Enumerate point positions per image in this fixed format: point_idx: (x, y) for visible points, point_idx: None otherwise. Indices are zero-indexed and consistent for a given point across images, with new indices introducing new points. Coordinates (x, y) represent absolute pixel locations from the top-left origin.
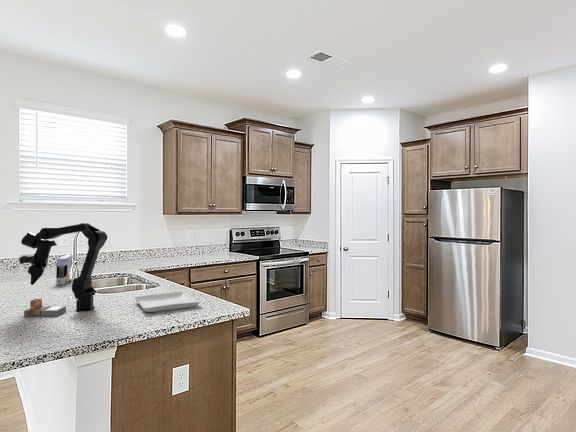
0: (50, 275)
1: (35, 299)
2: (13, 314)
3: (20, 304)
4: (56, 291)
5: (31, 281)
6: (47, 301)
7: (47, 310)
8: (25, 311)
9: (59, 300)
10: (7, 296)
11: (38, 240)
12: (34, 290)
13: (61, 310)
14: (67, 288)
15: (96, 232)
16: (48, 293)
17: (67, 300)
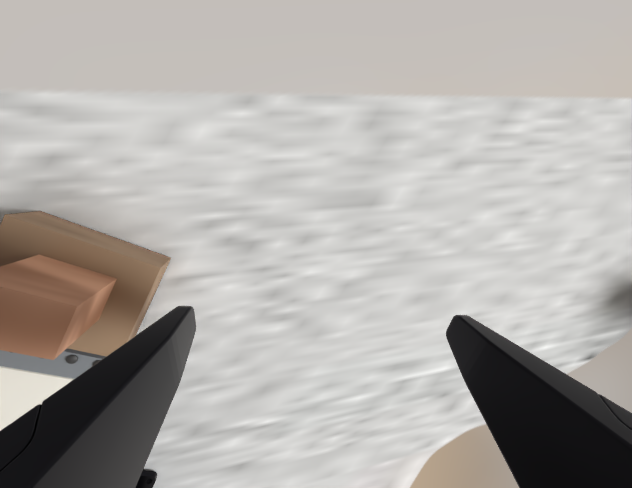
0: None
1: (37, 312)
2: (154, 145)
3: (407, 172)
4: (561, 295)
5: (127, 353)
6: (401, 288)
7: None
8: (4, 225)
9: (392, 335)
10: (598, 110)
11: None
12: (627, 212)
13: None
14: (582, 326)
15: None
16: (547, 270)
17: (372, 368)
